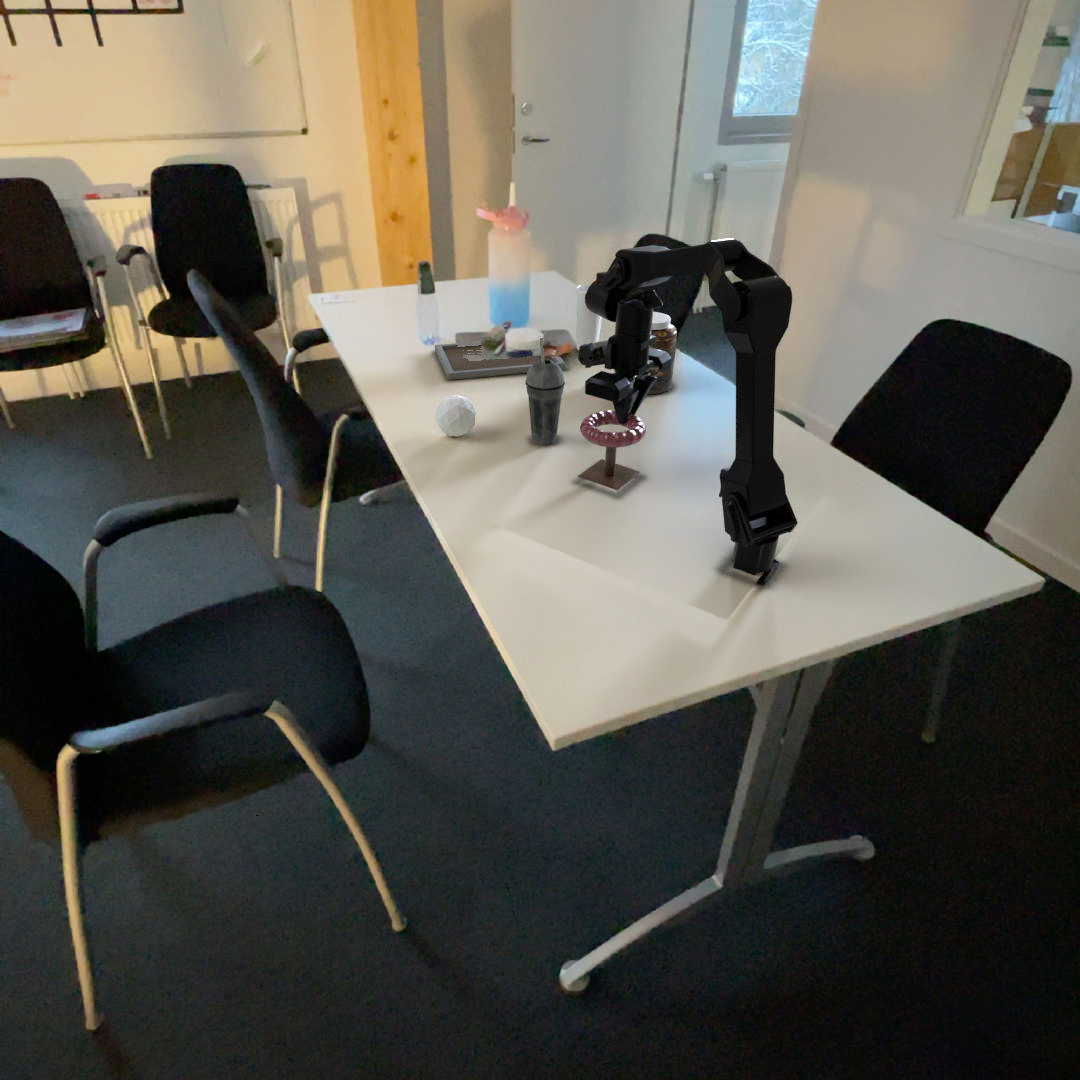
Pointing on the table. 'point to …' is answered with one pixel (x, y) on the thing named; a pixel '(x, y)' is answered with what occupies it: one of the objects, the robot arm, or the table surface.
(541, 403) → the beverage cup
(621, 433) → the ring
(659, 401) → the table surface
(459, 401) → the geometric ball
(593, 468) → the stand
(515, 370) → the gray tray
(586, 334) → the drinking glass
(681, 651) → the table surface
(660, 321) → the jar
